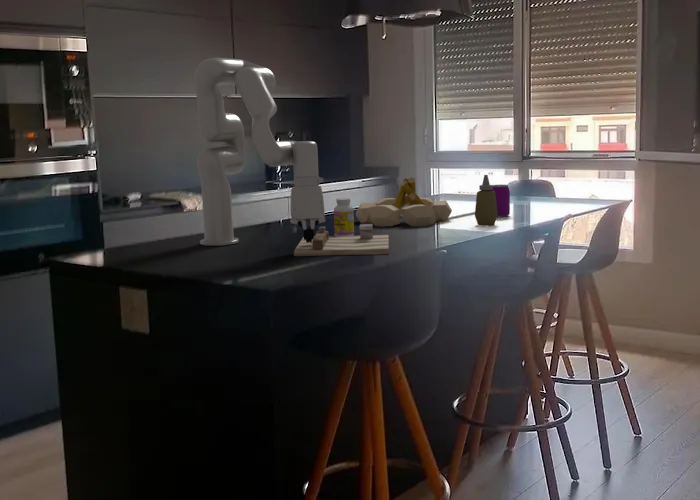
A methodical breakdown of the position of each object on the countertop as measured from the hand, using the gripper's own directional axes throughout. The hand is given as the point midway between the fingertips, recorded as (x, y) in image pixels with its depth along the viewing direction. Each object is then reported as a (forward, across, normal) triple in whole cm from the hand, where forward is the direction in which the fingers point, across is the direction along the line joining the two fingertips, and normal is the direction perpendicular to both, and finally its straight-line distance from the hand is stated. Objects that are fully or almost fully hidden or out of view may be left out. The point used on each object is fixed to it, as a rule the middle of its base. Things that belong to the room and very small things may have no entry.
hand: (308, 241), depth 255 cm
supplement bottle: (+3, -14, -25) cm, 29 cm away
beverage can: (+3, -79, -56) cm, 97 cm away
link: (+1, -4, -1) cm, 4 cm away
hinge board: (+3, -11, -2) cm, 11 cm away
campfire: (+3, -42, -56) cm, 70 cm away
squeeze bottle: (+3, -67, -34) cm, 75 cm away
